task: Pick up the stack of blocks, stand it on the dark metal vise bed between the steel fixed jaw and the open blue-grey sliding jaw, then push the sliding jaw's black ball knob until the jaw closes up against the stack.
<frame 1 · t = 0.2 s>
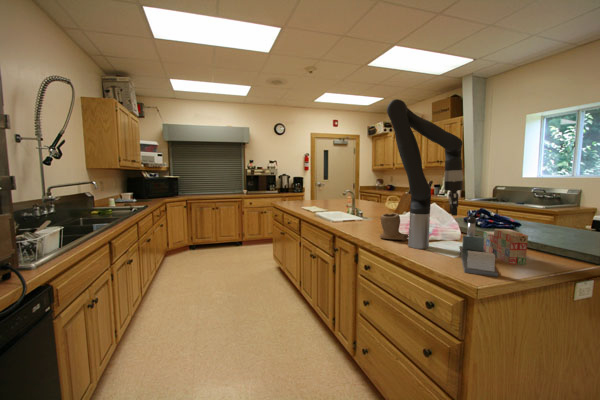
hand: (453, 214, 123), 18 cm above the countertop, tool pointing down, fingers open, 8 cm apart
stack of blocks: (502, 257, 116), on the countertop
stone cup: (393, 239, 147), on the countertop
sliding jaw: (472, 232, 126), point 9 cm above the countertop, slide at 6.0 cm
vise bed: (475, 260, 110), on the countertop
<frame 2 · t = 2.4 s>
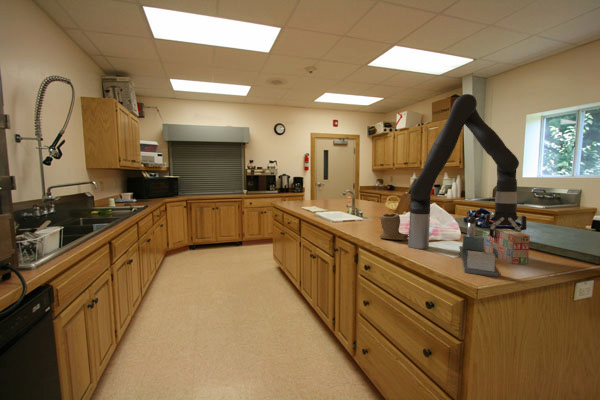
hand: (504, 238, 115), 8 cm above the countertop, tool pointing down, fingers open, 8 cm apart
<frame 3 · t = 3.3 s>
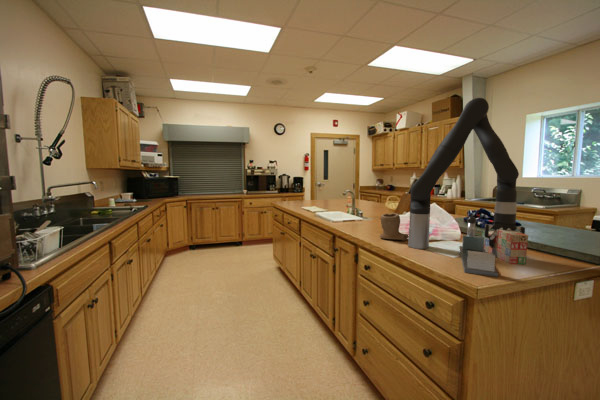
hand: (502, 248, 115), 4 cm above the countertop, tool pointing down, fingers closed on stack of blocks, 7 cm apart
stack of blocks: (501, 256, 116), on the countertop, touching gripper
everything else where it was.
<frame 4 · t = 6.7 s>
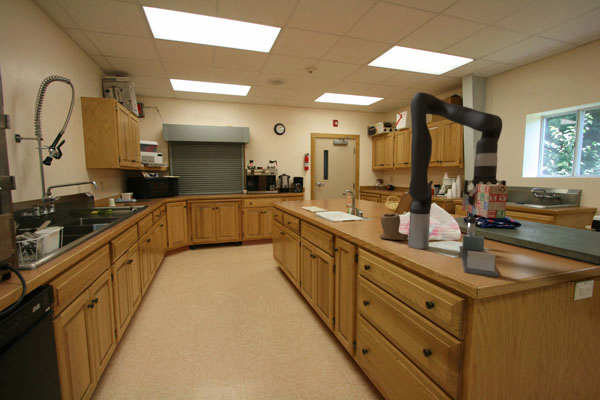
hand: (482, 205, 106), 24 cm above the countertop, tool pointing down, fingers closed on stack of blocks, 7 cm apart
stack of blocks: (481, 214, 107), point 20 cm above the countertop, touching gripper
everything else where it was.
when the fingers open (6 cm above the countertop, at t = 10.1 s): stack of blocks drops 1 cm, resting on vise bed.
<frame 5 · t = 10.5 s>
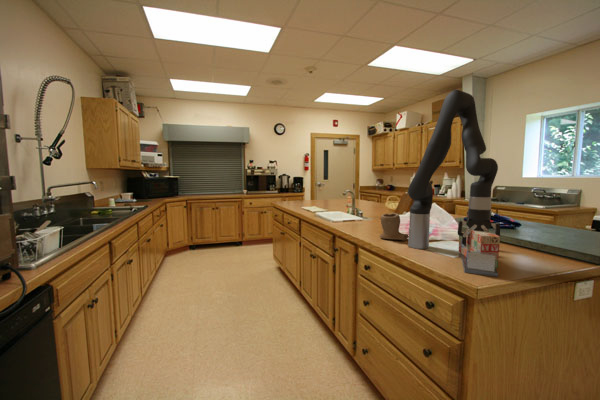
hand: (477, 247, 106), 7 cm above the countertop, tool pointing down, fingers open, 8 cm apart
stack of blocks: (476, 259, 107), point 1 cm above the countertop, touching vise bed
everything else where it was.
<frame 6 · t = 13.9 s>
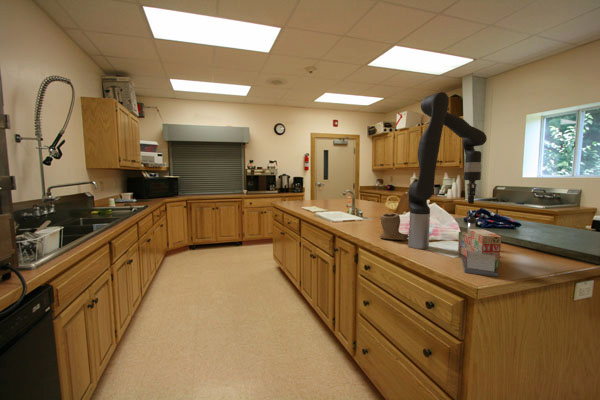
hand: (470, 203, 138), 21 cm above the countertop, tool pointing down, fingers open, 5 cm apart
nothing on the countertop moved.
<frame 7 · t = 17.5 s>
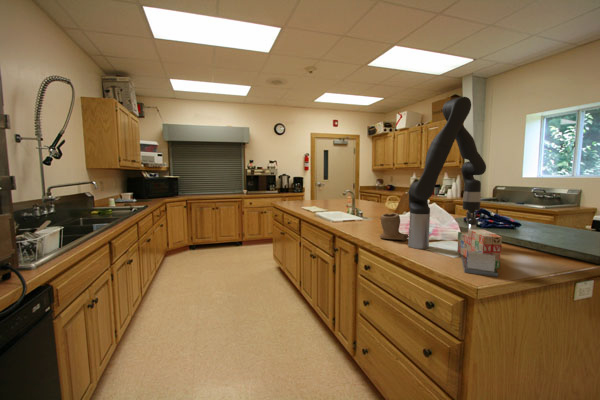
hand: (469, 233, 134), 6 cm above the countertop, tool pointing down, fingers closed
stack of blocks: (476, 259, 107), point 1 cm above the countertop, touching sliding jaw, vise bed
sliding jaw: (472, 233, 122), point 9 cm above the countertop, slide at 2.0 cm, touching hand, stack of blocks
everything else where it was.
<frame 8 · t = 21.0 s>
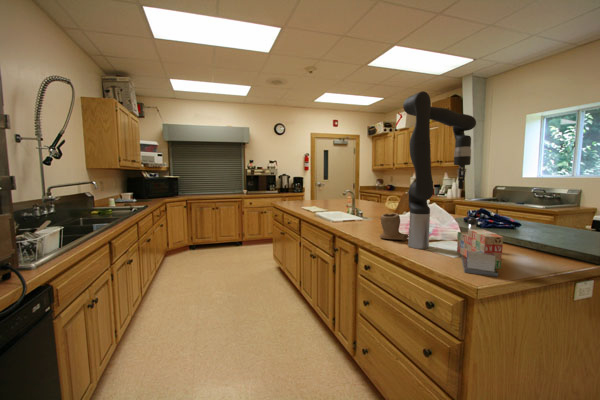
hand: (460, 188, 138), 29 cm above the countertop, tool pointing down, fingers closed
stack of blocks: (476, 259, 107), point 1 cm above the countertop, touching vise bed
sliding jaw: (472, 233, 122), point 9 cm above the countertop, slide at 2.1 cm
everything else where it was.
at the end: stack of blocks 0.1 cm from the target spot, point 1.3 cm above the countertop; stack of blocks tilted 0°; sliding jaw slide at 2.1 cm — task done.
